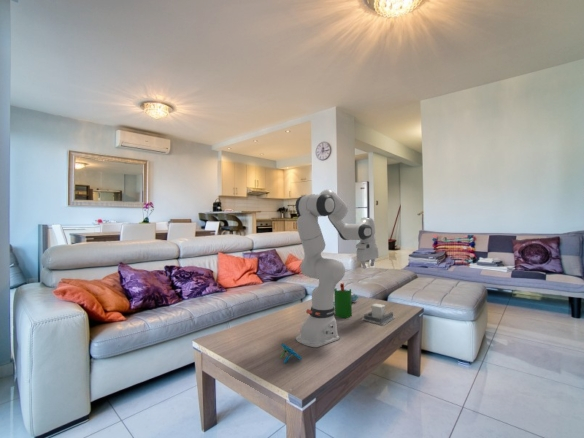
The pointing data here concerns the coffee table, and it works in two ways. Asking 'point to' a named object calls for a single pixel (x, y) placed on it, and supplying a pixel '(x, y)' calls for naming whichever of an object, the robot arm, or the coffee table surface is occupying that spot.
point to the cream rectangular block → (378, 310)
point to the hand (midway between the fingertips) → (368, 267)
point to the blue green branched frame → (289, 352)
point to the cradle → (379, 321)
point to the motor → (343, 302)
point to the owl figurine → (352, 296)
